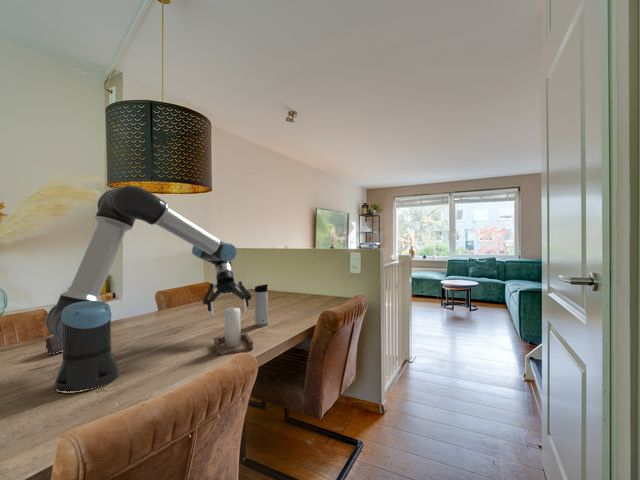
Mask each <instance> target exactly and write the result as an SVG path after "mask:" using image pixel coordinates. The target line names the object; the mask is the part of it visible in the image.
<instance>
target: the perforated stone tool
mask: <svg viewBox="0 0 640 480" xmlns="http://www.w3.org/2000/svg"><path fill="white" fill-rule="evenodd" d="M45 349H46V350H47V354H48V353H51V354H53V353H56V352H59V351H62V350H63V344H62V339H60V338H58V337H55V336H54V335H52V336H50V337H47V338H45Z"/></svg>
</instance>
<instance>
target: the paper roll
mask: <svg viewBox="0 0 640 480" xmlns="http://www.w3.org/2000/svg"><path fill="white" fill-rule="evenodd" d="M223 315H224V317H223V318H224V337H225V347H227V348H234V347H238V346H240V345H241V334H242V333H241V330H242V329H241V327H242V326H241V308H239V307H228V308H225V309H224V314H223Z"/></svg>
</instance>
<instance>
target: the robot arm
mask: <svg viewBox="0 0 640 480" xmlns="http://www.w3.org/2000/svg"><path fill="white" fill-rule="evenodd" d="M94 218H95V220H96V222H97V225H96V227H95V230H94V232H93V234H92V237H91V239H90V241H89V243H88V245H87V248H86V251H85V252H84V255H83V257H82V260H81V261H80V264H79V266H78V269H77V271H76V274H74V275H75V276H74V278H73V280H72V283H71V285H70V287H69V289H68V290H67V291H65V292H63V293H61V294H60V295H59V298H58V301H57V302H56V304H55V305H54V306H53V307H51V308H50V309H49V311H48V313H47V314H46V318H45V326H46V328H47V329H48V332H49V333H50V334H51V335H52V336H55V337H58V338H60V339H62V344H63V352H62V362H61V366H60V368H59V371H58V373H57V377H56V378H55V382H54V388H56V389H57V390H59V391H67V392H68V391H69V392H70V391H80V390H85V389H91V388H95V387H98V386H101V385H104V384H106V385H108V384H110V383H111V381H112V382H113V381H115V380H116V379H117V378H118V377H117V376H119V366H118V364H117V360H116V359H115V357H114V354H113V352H112V311H111V306H110V305H109V304H108V303H107V302H104V301H103V300H102V298H101V293H102V290H103V287H104V285H105V283H106V281H107V278H108V275H109V273H110V272H111V271H110V270H111V268H112V266H113V263H114V262H115V258H116V256H117V253H118V251H119V249H120V247H121V246H120V245H122V241H123V238H124V236H125V234H126V232H127V231H130V230H132V229H133V227H134V225H135V222H136V220H140V221H142V222H144V223H145V222H146V223H147V224H149V225H151V226H153V225H157V226H158V227H159V228H162V229H163V230H165V231H167V232H169V233H171V234H172V235H174V236H176V237H178V238H180V240H183V241H185V242H187V243H189V244H190V245H192V249H191V253H192V255H194V256H195V257H196V258H198V259H201V260H203V261H205V262H208V263H210V264H212V265H214V267H215V276H216V277H215V278H216V284H213V283H212V282H211V283H210V285H209V288H208V290H207V292H206V294H205V296H204V298H203V300H202V304H203V305H207V311H208V312H210V314H211V315H210V317H211V318H210V319H211V320H214V316H215V314H214V304H213V303H214V302H215V300H216V299H217V298H218V297H219V296H220V295H221V294H230V293H232V294H233V295H236V297H238V298H239V299H241V300H242V305H243V306H242V307H243V312H244V316H247V314H248V308H249V304H250V303H249V301H251V300H252V294H251V293H250V292H249V291H248V290H247V288H245V286H244V285H243V282H242V281H241V280H240V281H238V282H235V277H234V271H233V267H232V266H233V265H232V261H233V260H235V258H236V256H237V252H238V250H237V247H236V245H234V244H233V243H228V242H224V241H222V240H220V239H219V238H217V237H216V236H215V235H212V234H211V233H210V232H208V231H206V230H205V229H203V228H202V227H200V226H199V225H197V224H195V223H194V222H192V221H191V220H189V218H186V217H184V216H183V215H181V214H180V213H178V212H176V211H175V210H173V209H172V208H171V207H169V206H168V203H167V202H166V201H164V200H163V199H161V198H160V197H158V196H157V195H155V194H154V193H152V192H150V191H148V190H146V189H144V188H143V187H140V186H137V185H124V186H121V187H118V188H112V189H109V190H106V191H105V192H104V193H103V194H101V195H100V197H99V198H98V200H97V212H96V215H95V216H94ZM237 288H238V289H237ZM215 289H217V290H215ZM214 290H215V292H214V293H213V291H214ZM212 293H213V294H212ZM116 377H117V378H116ZM115 378H116V379H115ZM114 379H115V380H114ZM109 382H110V383H109ZM107 383H108V384H107ZM104 386H105V385H104ZM101 387H102V386H101ZM98 388H99V387H98Z"/></svg>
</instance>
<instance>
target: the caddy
mask: <svg viewBox="0 0 640 480" xmlns="http://www.w3.org/2000/svg"><path fill="white" fill-rule="evenodd" d="M213 347H214V350H215V353H216V356H217V357H219V356H224V355H231V354H236V353H242V352H248V351H247V350H249V351H253V350H254V341H253V340H252V339H251V338H250V336H249V335H248V333H241V345H240V346H238V347H234V348H227V347H225V336H219V337H214V338H213ZM252 349H253V350H252ZM240 351H241V352H240Z"/></svg>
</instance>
